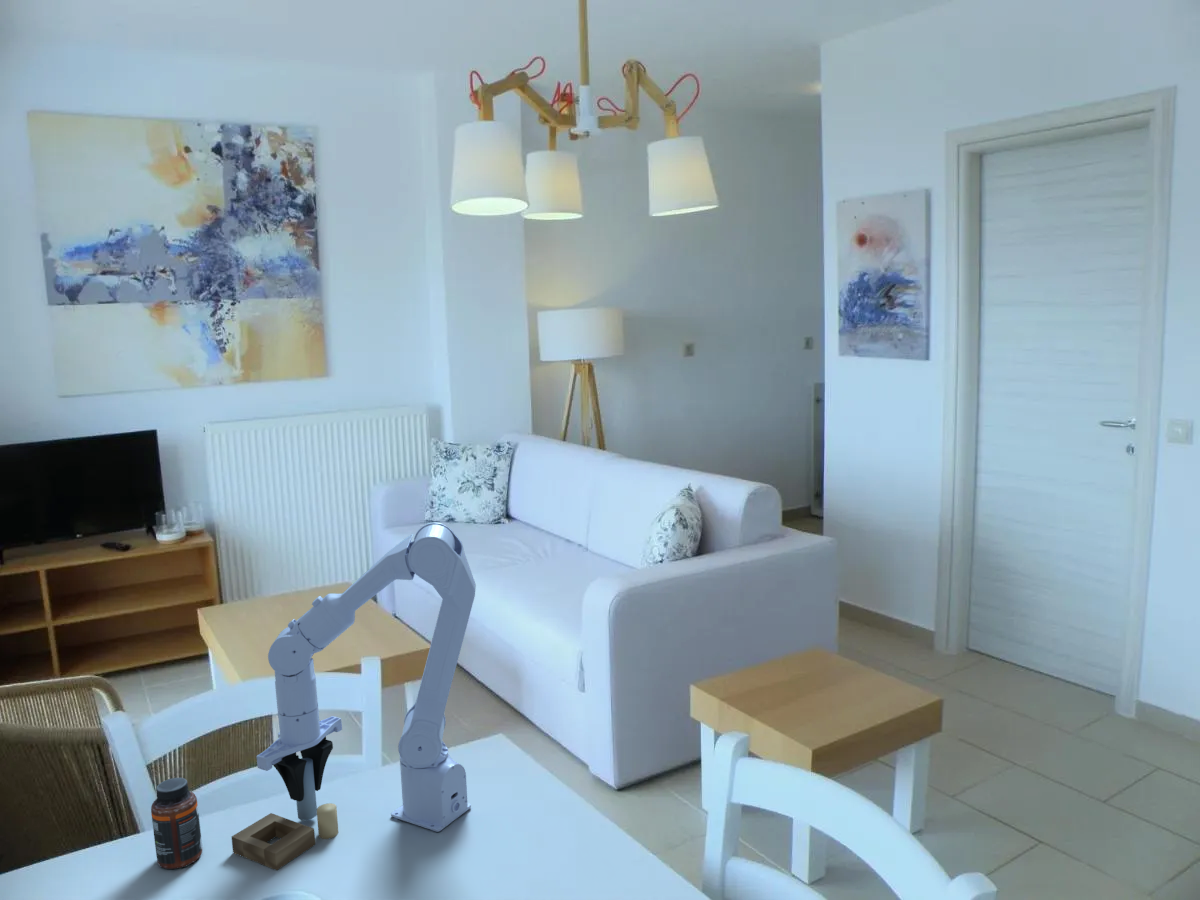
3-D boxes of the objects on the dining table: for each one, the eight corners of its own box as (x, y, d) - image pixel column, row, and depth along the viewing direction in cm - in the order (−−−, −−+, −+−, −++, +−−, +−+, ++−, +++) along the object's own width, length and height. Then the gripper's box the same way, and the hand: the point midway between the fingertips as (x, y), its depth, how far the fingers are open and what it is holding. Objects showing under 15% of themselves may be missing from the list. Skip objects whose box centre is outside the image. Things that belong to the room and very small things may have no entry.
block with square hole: (315, 844, 135) (314, 828, 135) (276, 870, 130) (275, 853, 129) (272, 828, 140) (271, 812, 140) (233, 852, 134) (231, 836, 134)
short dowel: (342, 831, 139) (340, 806, 138) (328, 840, 136) (326, 815, 136) (328, 826, 140) (326, 801, 140) (314, 835, 138) (312, 810, 137)
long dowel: (321, 812, 142) (316, 760, 141) (307, 822, 140) (302, 768, 139) (308, 808, 144) (303, 756, 142) (293, 817, 141) (288, 764, 140)
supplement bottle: (211, 847, 136) (203, 773, 134) (189, 872, 130) (181, 795, 128) (171, 846, 136) (163, 773, 134) (148, 870, 130) (139, 794, 129)
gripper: (316, 685, 147) (323, 766, 149) (239, 722, 135) (247, 810, 137) (349, 693, 144) (355, 776, 146) (273, 732, 131) (281, 822, 133)
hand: (305, 793), depth 141 cm, fingers closed on long dowel, 3 cm apart
